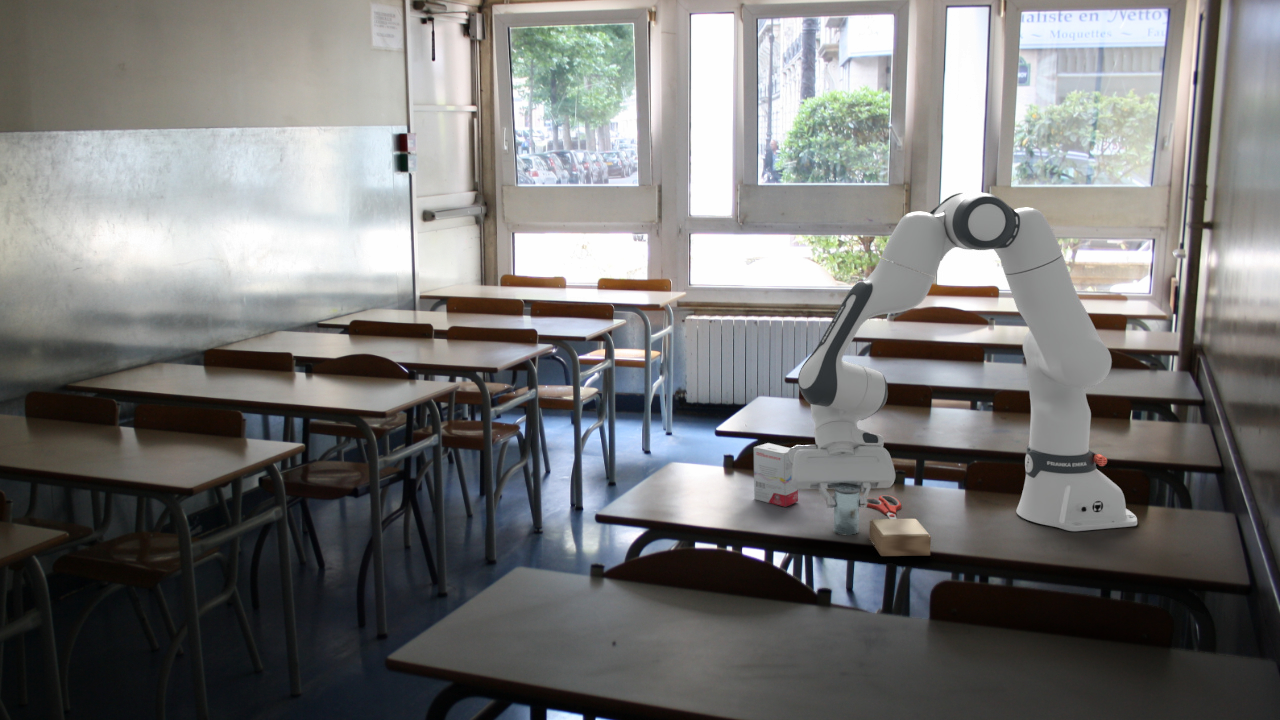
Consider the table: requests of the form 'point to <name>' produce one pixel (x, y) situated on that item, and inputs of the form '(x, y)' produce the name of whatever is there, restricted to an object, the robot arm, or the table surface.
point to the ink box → (773, 475)
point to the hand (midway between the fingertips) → (847, 506)
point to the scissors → (889, 509)
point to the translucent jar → (846, 508)
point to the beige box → (899, 537)
